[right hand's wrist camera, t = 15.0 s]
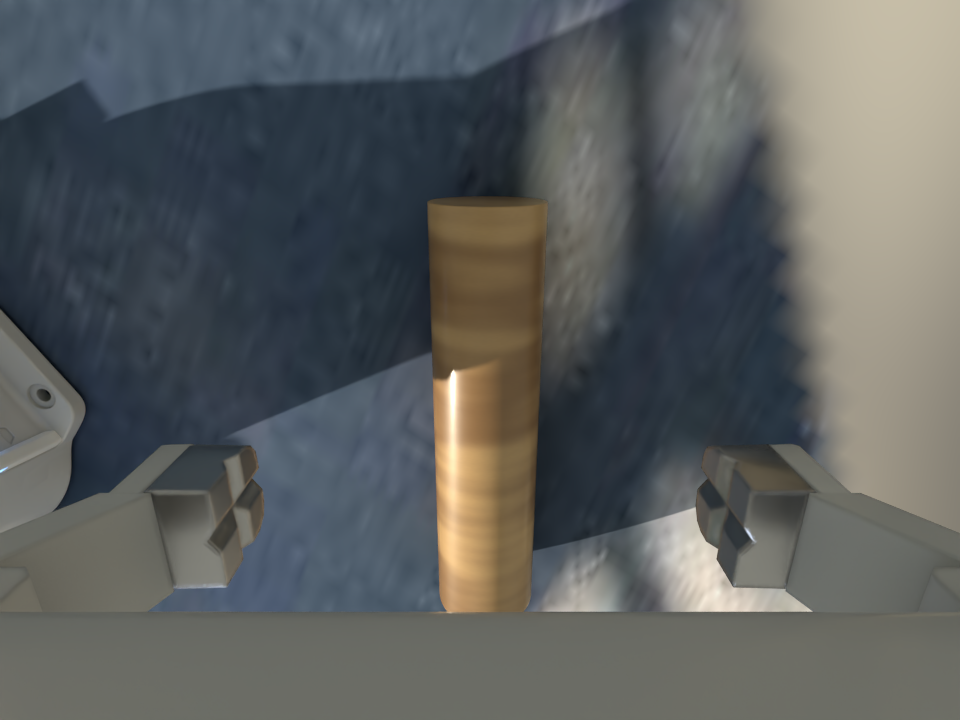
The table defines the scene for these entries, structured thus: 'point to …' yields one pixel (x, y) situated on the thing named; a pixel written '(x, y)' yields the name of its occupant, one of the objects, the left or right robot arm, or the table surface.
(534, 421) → the rod
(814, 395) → the table surface
